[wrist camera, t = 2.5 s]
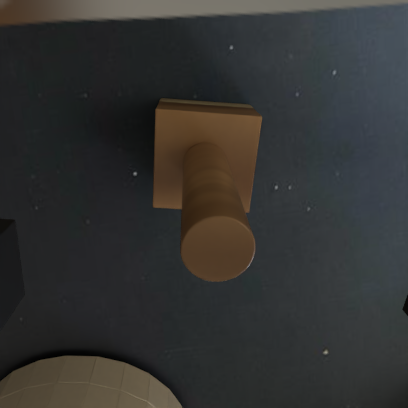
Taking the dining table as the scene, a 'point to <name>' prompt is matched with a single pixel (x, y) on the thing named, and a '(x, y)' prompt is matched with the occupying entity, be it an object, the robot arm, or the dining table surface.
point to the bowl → (83, 385)
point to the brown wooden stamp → (208, 181)
